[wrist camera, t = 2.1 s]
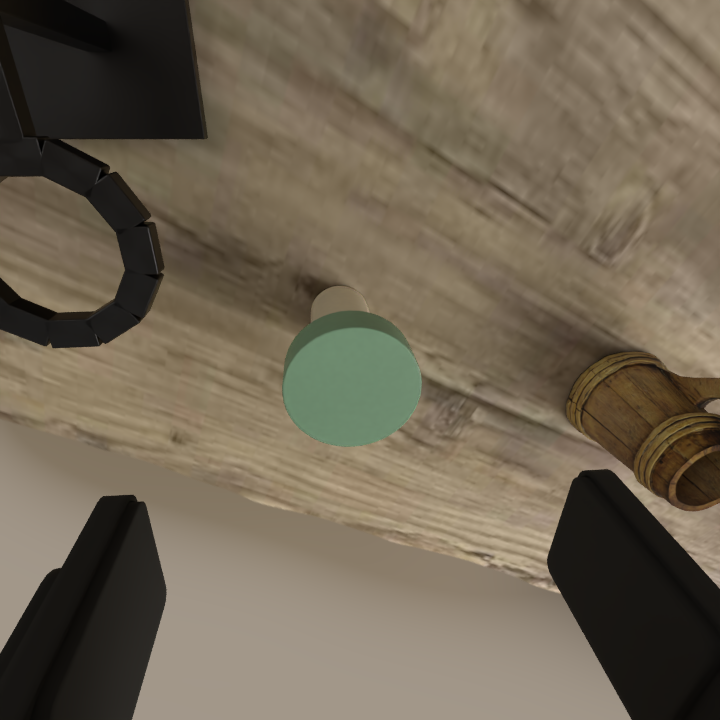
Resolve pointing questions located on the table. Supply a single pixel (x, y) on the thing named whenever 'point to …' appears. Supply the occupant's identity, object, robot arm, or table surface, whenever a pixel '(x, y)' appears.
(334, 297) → the canister
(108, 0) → the holder
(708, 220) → the table surface
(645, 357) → the wooden mug
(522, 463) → the table surface
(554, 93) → the table surface
